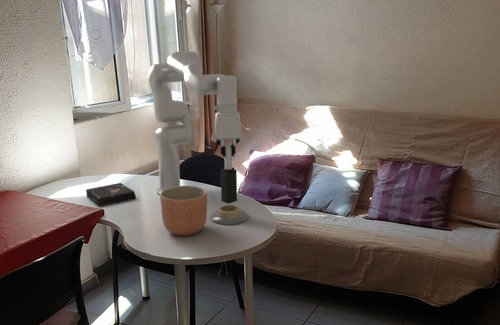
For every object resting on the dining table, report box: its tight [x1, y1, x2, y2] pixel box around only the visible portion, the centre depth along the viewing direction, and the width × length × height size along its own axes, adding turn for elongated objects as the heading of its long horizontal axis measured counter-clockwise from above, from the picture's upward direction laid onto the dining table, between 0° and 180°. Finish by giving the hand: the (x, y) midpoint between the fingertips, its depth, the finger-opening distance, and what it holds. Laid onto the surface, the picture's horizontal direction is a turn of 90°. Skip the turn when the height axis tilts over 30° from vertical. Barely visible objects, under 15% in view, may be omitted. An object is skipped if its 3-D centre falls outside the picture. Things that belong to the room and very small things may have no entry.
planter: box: [159, 185, 208, 237], centre depth 165 cm, size 17×17×15 cm
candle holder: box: [210, 203, 249, 226], centre depth 179 cm, size 15×15×4 cm
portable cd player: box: [85, 182, 137, 207], centre depth 204 cm, size 16×17×4 cm
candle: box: [220, 139, 238, 204], centre depth 175 cm, size 5×5×25 cm
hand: (228, 155), depth 173 cm, fingers closed on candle, 2 cm apart
